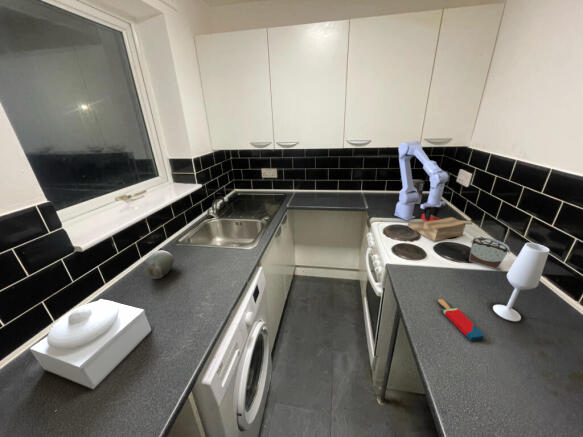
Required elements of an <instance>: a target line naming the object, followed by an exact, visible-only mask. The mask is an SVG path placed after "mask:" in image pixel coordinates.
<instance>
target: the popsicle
mask: <svg viewBox="0 0 583 437" xmlns="http://www.w3.org/2000/svg"><path fill="white" fill-rule="evenodd" d="M437 302H438V303H439V304H440V305H441V306H442V307H444V309H443V314H444V315H445V316H446V317H447V318H448V320H449V321H450V322H452V324H453V325H454V326H455V327H456V328H457V329H458V330H459V331H460V332H461V333H462V334H463V335H464V336H465V337H466V338H467V339H468V340H469V341H470V342H473V341H479V340H480V341H481V340H484V338H485V334H484V333H483V332H482V331H481V330H479V328H478V327H477V326H476V325H475V324H474V323H473V322H472V321H471V320H470V319H469V318H468V317H467V315H465V314H464V313H463V312H462V311H461V310H460V309H459V308H458V307H453V308H452V307H451V306H449V304H448V303H447V302H446V301H445V300H444V299H442V298H438V299H437Z"/></svg>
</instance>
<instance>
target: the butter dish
mask: <svg viewBox="0 0 583 437" xmlns="http://www.w3.org/2000/svg"><path fill="white" fill-rule="evenodd" d="M145 311H146V310H145V309H144V308H143V309H142V308H138V307H135V306H131V305H126V304H122V303H119V302H115V301H112V300H107V299H103V298H99V299H98V300H97V301H93V302H89V303H86V304H84V305H81V306H78V307H76V308H75V309H73V310H71V311H70V312H68V313H66V314H65V315H64V316H62V317H61V318H59V320H57V321H56V322H55V323H54V325H52V326H51V328H50V330H49V331H48V334H47V336H44V338H43V339H41V340H39V341H38V342H37V343H35V344H34V345H32V346H31V347H29V351H30V352H31V354H32V355H33V356H34V358H35V359H36V360H37V362H38V363H39V364H40V366H41V367H42V368H43V370H45V371H47V372H50V373H52V374H54V375H58V376H59V377H62V378H65V379H67V380H70V381H72V382H74V383H77V384H79V385H82V386H83V387H87V388H89V389H91V390H94V389H95V388H96V387H97V386H98V385H99V384H100V383H101V382H102V381H103V380H104V379H105V378H106V377H107V376H108V375H109V374H110V373H111V372H112V371H113V370H114V369H115V368H116V367H117V366H118V365H119V364H120V363H121V362H122V361H123V360H124V359H125V358H126V357H127V356H128V355H129V354H130V353H131V352H132V351H133V350H134V349H135V348H136V347H137V346H138V345H139V344H140V343H141V342H142V341H143V339H145V338H146V336H148V335H149V334H150V333H151V331H152V327H151V325H150V323H149V321H148V318H147V316H146V312H145Z"/></svg>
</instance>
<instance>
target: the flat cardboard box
mask: <svg viewBox="0 0 583 437" xmlns="http://www.w3.org/2000/svg"><path fill="white" fill-rule="evenodd" d="M466 224H467V222H465V221H462V220H460V219H458V218H455V217H453V216H449V217H445V218H440V219H439V220H434V221H429V222H426V221H424V220H419V221H414V222H408V223H407V228H410V229H411V230H413V231H415V232H417V233H419V234H421V235H423V236H424V237H426V238H428V239H429V240H431V241H432V242H439V241H443V240H449V239H451V238H456V237H460V236H463V235H464V231H465V228H466Z"/></svg>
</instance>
